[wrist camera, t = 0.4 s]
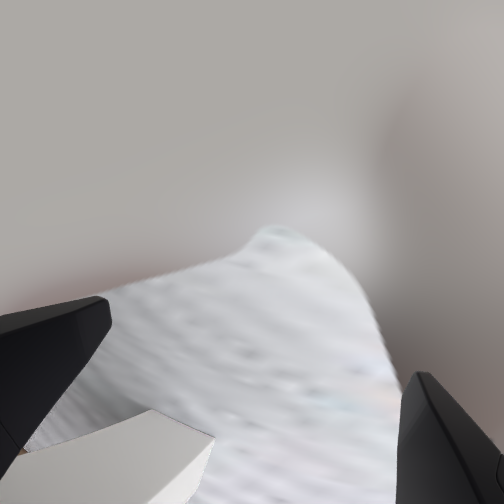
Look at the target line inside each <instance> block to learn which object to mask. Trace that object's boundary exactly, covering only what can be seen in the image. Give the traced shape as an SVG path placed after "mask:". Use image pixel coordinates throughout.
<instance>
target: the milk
mask: <svg viewBox="0 0 504 504" xmlns="http://www.w3.org/2000/svg"><path fill="white" fill-rule="evenodd" d="M214 442H215V438H214V437H212V436H209V435H207V434H205V433H202V432H200V431H198V430H195V429H193V428H191V427H189V426H186V425H184V424H182V423H180V422H178V421H176V420H174V419H171V418H169V417H167V416H165V415H163V414H161V413H159V412H157V411H155V410H153V409H151V410H148V411H146V412H144V413H141V414H139V415H136V416H134V417H132V418H129V419H127V420H124V421H122V422H119V423H116V424H114V425H111V426H109V427H106V428H103V429H101V430H98V431H95V432H92V433H90V434H87V435H84V436H81V437H78V438H75V439H72V440H69V441H66V442H63V443H60V444H57V445H54V446H50V447H47V448H44V449H40V450H37V451H33V452H30V453H26V454H23V455H19V456H17V457H16V458H15V460H14V461H13V463H12V464H11V466H10V467H9V469H8V470H7V471H6V473H5V474H4V476H3V477H2V479H1V480H0V504H185V503H186V502H187V501H188V500H189V499H190V497H191V496H192V495H193V494H194V493H195V491H196V490H197V489H198V486H199V483H200V480H201V478H202V475H203V472H204V470H205V467H206V464H207V461H208V458H209V456H210V453H211V450H212V447H213V444H214Z"/></svg>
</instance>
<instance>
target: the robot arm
mask: <svg viewBox="0 0 504 504" xmlns="http://www.w3.org/2000/svg"><path fill="white" fill-rule="evenodd" d="M111 326H112V318H111V312H110V306H109V302H108V300H107V299H105V298H102V297H99V296H93V297H88V298H84V299H79V300H74V301H69V302H64V303H60V304H55V305H50V306H45V307H41V308H36V309H31V310H26V311H21V312H16V313H11V314H6V315H2V316H0V480H1V479H2V477H3V476H4V474H5V473H6V471H7V470H8V469H9V467H10V466H11V464H12V463H13V461H14V460H15V458H16V457H17V456H18V454H19V453H20V451H21V450H22V448H23V447H24V445H25V444H26V443H27V441H28V440H29V438H30V437H31V436H32V434H33V433H34V431H35V430H36V429H37V427H38V426H39V425H40V423H41V422H42V421H43V419H44V418H45V417H46V415H47V414H48V413H49V411H50V410H51V409H52V407H53V406H54V405H55V404H56V402H57V401H58V400H59V398H60V397H61V396H62V394H63V393H64V392H65V391H66V389H67V388H68V387H69V386H70V384H71V383H72V382H73V380H74V379H75V378H76V377H77V375H78V374H79V373H80V372H81V370H82V369H83V368H84V367H85V365H86V364H87V363H88V361H89V360H90V358H91V357H92V355H93V354H94V352H95V351H96V349H97V348H98V346H99V345H100V343H101V342H102V340H103V339H104V337H105V336H106V334H107V333H108V331H109V330H110V328H111ZM396 504H504V455H503V454H501V452H500V450H499V449H498V448H497V447H496V446H495V444H494V443H493V442H492V441H491V440H490V439H489V438H488V436H487V435H486V434H485V433H484V432H483V431H482V430H481V428H480V427H479V426H478V425H477V424H476V423H475V422H474V420H473V419H472V418H471V417H470V416H469V415H468V414H467V413H466V412H465V410H464V409H463V408H462V407H461V406H460V405H459V404H458V403H457V402H456V400H455V399H454V398H453V397H452V396H451V395H450V394H449V393H448V392H447V391H446V390H445V389H444V388H443V386H442V385H441V384H440V383H439V382H438V381H437V380H436V379H435V378H434V377H433V376H432V375H431V374H430V373H429V372H423V371H416V372H414V373H413V375H412V377H411V379H410V381H409V383H408V385H407V387H406V388H405V390H404V392H403V395H402V399H401V411H400V424H399V435H398V446H397V486H396Z"/></svg>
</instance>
